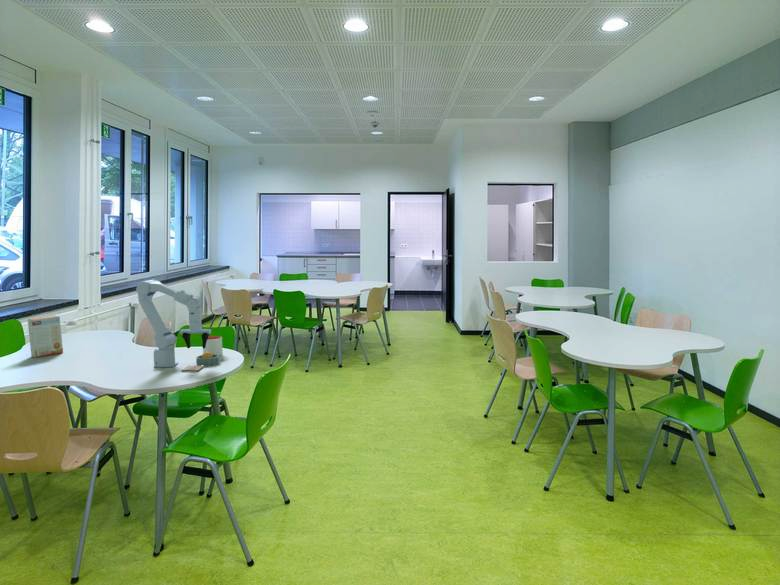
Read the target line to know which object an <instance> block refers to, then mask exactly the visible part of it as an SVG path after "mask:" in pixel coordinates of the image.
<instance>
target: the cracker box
mask: <svg viewBox="0 0 780 585" xmlns="http://www.w3.org/2000/svg"><path fill="white" fill-rule="evenodd" d="M27 325H28V336H29V346H30V354H31V355H30V356H31V357H32V358H35V359H37V358H41V357H47V356H53V354H54V355H58V353H59V354H63V353H64V350H63V349H64V348H63V338H62V337H63V336H62V328H61V318H60V316H59V315H51V316H41V317H36V318H29V319H27Z"/></svg>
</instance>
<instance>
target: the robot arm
mask: <svg viewBox="0 0 780 585" xmlns="http://www.w3.org/2000/svg"><path fill="white" fill-rule="evenodd" d="M135 291H136V292H137V299H138V303H139V305H140V307H141V308H142V310H143V313H144V314H145V316H146V318H147V320H148V321H149V323H150V325H151V327H152V329H153V331H154V336H153V337H154V341H155V346H156V348H155V349H154V351H153V368H173V367H175V366H176V365H178V364H179V362H178V361H176V352H175V345H176V343H177V341H178V340H177V336H176V335H175V334H174V333H173V331H172V330H171V329H169V328H168V327H166V324H165V323H164V321H163V319H162V317H161V316H160V313H159V312H158V310H157V308H156V306H155V305H154V303H153V297H154V296H155V294H156V293H157V292H160V293H162V294H165V295H168V296H170V297H172V298H173V300H174V301H176V302H178V303H180V304H182V305H184V306H186V308H187V310H188V322H189V323H188V324H189V325H188V327H189V328H187V329H185V328H184V329H180V335H181V337H182V338H183V340H184V342H185V345H186V347H187V349H190V348H191V334H194V335H196V334H197V335H198V334H199V335H200V334H201V335H200V336H201V341H202V349H203V348H206V342H207V339H208V337H209V336H210V335H211V334H212V329H210V328H209V329H207V328H203V327H202V306H203V303H204V302H203V298H201V297H200V296H198V295H196V296H194V294H191V293H190V294H189V293H188V292H186V290H184V289H182V290H181V289H180V290H179V289H178V290H176V289H174V288H172V287H170V286H168V285H166V284H164V283H162V282H161V281H159V280H156V279H149V280H143V281H139V282H138V284H137V285H136V288H135Z"/></svg>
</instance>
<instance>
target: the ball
mask: <svg viewBox="0 0 780 585" xmlns="http://www.w3.org/2000/svg"><path fill="white" fill-rule="evenodd" d="M201 355H202V359H209V358H213V355H212V353H211V352H205V353H203V352H202V354H201Z"/></svg>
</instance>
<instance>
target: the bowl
mask: <svg viewBox="0 0 780 585" xmlns="http://www.w3.org/2000/svg"><path fill="white" fill-rule="evenodd" d="M212 355H213V358H209V359H202V354H201V355H200V354H199V355H198V356H196V357H195V358H196V359H195V360H196V362H195V363H196V366H199V365H210V366H214V365H213V364H215V365H217V363H218V362H220V356H218V355H216V354H212ZM218 364H219V363H218Z"/></svg>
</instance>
